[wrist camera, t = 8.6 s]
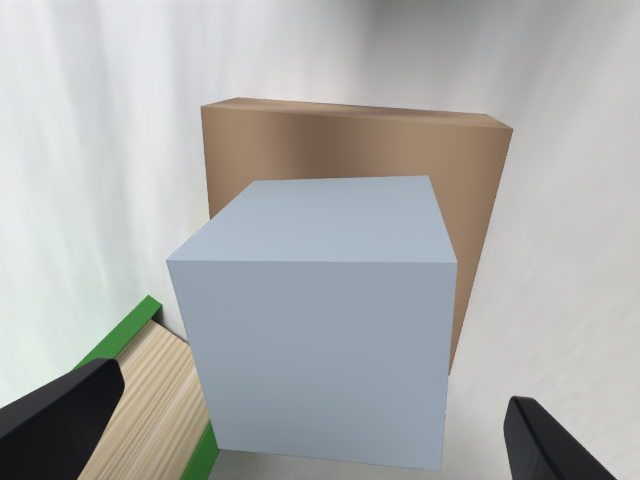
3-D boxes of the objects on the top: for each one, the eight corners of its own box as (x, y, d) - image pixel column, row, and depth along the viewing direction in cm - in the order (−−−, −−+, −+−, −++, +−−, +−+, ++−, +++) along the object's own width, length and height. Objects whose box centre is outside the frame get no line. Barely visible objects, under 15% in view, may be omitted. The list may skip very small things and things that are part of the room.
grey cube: (428, 175, 12) (457, 262, 7) (422, 324, 15) (440, 471, 10) (254, 181, 14) (166, 260, 8) (275, 318, 16) (218, 448, 11)
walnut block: (483, 112, 15) (513, 129, 12) (438, 317, 19) (449, 375, 16) (241, 96, 16) (200, 106, 13) (249, 292, 21) (220, 340, 17)
